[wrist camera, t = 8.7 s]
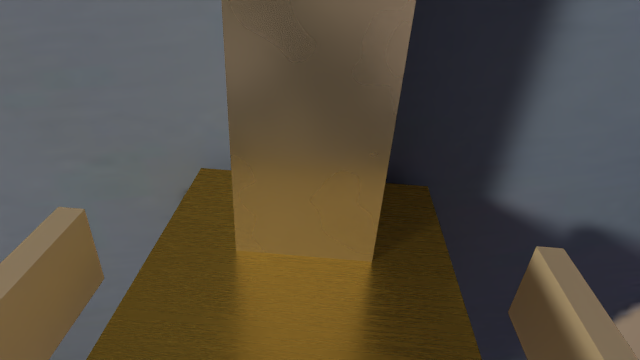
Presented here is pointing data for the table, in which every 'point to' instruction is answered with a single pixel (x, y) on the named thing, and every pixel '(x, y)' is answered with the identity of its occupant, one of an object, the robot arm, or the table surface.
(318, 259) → the golden wooden block
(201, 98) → the table surface
